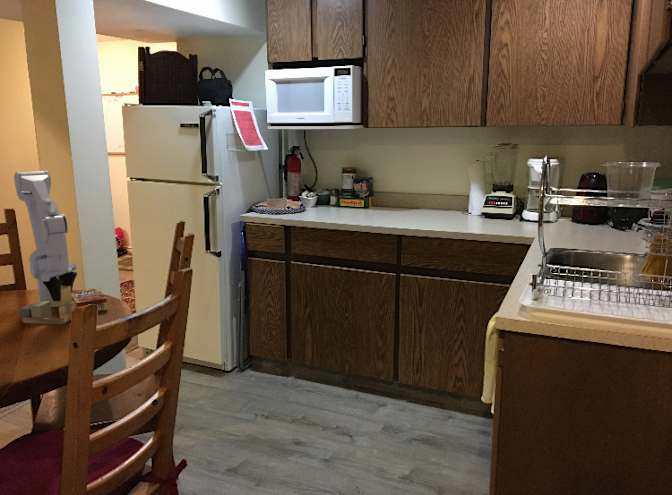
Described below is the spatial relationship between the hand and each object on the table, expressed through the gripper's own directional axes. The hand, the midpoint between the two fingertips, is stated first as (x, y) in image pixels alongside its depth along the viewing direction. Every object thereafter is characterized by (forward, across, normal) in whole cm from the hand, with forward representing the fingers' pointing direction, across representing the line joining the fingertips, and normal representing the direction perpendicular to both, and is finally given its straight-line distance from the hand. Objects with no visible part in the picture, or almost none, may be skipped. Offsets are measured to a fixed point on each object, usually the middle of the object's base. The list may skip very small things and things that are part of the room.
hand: (62, 298), depth 178 cm
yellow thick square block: (+2, 0, 0) cm, 2 cm away
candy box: (+3, +2, -9) cm, 9 cm away
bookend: (+5, -6, +7) cm, 10 cm away
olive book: (+5, -6, +3) cm, 8 cm away
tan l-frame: (+5, -6, +1) cm, 8 cm away
